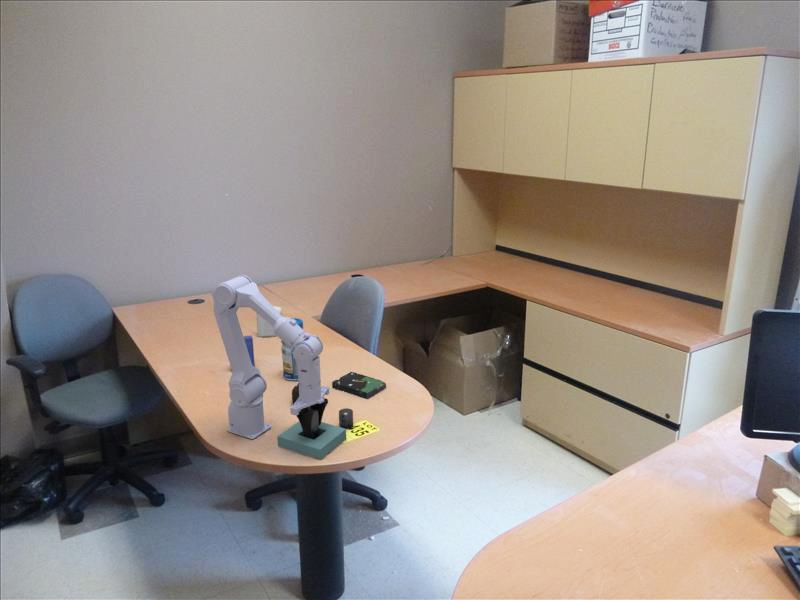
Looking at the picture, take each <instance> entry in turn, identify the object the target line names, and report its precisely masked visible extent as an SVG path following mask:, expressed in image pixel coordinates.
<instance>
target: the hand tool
mask: <svg viewBox="0 0 800 600" xmlns="http://www.w3.org/2000/svg"><path fill="white" fill-rule="evenodd" d="M298 398H299V382H297V384H296V385H295V386H294V387H293V388H292V390H291V400H292V406H293V405H294V403H295V402H296V400H297V399H298Z"/></svg>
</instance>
